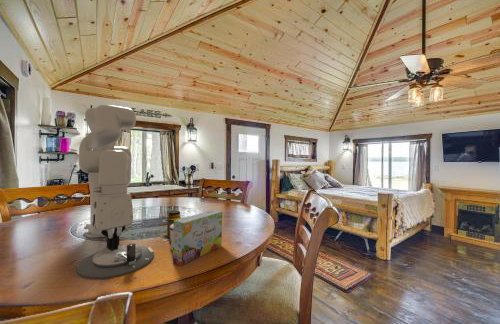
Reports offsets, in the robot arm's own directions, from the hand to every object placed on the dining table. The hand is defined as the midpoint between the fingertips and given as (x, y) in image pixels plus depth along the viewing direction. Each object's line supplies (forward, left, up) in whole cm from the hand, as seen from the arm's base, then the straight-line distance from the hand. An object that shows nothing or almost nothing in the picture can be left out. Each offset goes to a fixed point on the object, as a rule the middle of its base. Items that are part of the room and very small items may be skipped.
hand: (112, 249), depth 67 cm
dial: (-4, +9, -7) cm, 12 cm away
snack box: (+21, +19, -9) cm, 30 cm away
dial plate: (-5, +10, -8) cm, 14 cm away
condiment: (+3, +35, -9) cm, 36 cm away
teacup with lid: (+12, +23, -9) cm, 27 cm away
